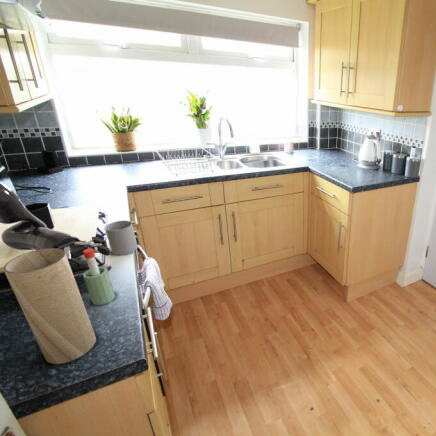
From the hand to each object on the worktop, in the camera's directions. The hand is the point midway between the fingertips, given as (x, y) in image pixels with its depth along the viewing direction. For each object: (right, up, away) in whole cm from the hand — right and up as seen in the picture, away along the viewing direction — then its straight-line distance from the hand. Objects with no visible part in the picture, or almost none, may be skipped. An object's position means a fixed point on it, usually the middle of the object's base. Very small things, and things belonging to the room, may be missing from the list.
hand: (95, 258), depth 87 cm
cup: (-13, -1, +32) cm, 35 cm away
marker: (-3, -12, +7) cm, 14 cm away
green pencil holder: (-3, -13, +7) cm, 15 cm away
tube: (+1, -21, -9) cm, 23 cm away
